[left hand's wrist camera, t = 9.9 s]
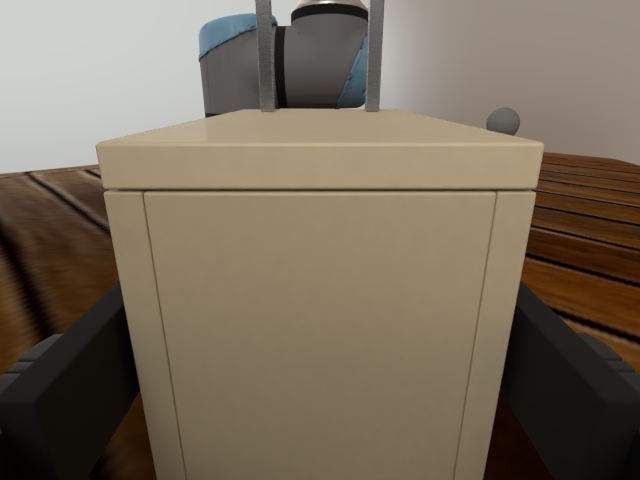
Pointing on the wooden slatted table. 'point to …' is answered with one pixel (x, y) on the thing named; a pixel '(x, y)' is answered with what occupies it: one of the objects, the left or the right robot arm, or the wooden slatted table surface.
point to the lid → (319, 143)
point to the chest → (319, 327)
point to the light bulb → (503, 121)
